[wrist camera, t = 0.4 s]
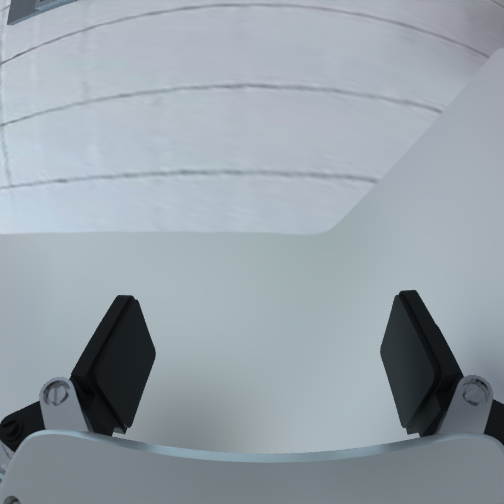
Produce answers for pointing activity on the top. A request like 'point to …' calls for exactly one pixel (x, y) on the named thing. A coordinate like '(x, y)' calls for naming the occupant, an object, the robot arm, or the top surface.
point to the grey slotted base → (31, 8)
